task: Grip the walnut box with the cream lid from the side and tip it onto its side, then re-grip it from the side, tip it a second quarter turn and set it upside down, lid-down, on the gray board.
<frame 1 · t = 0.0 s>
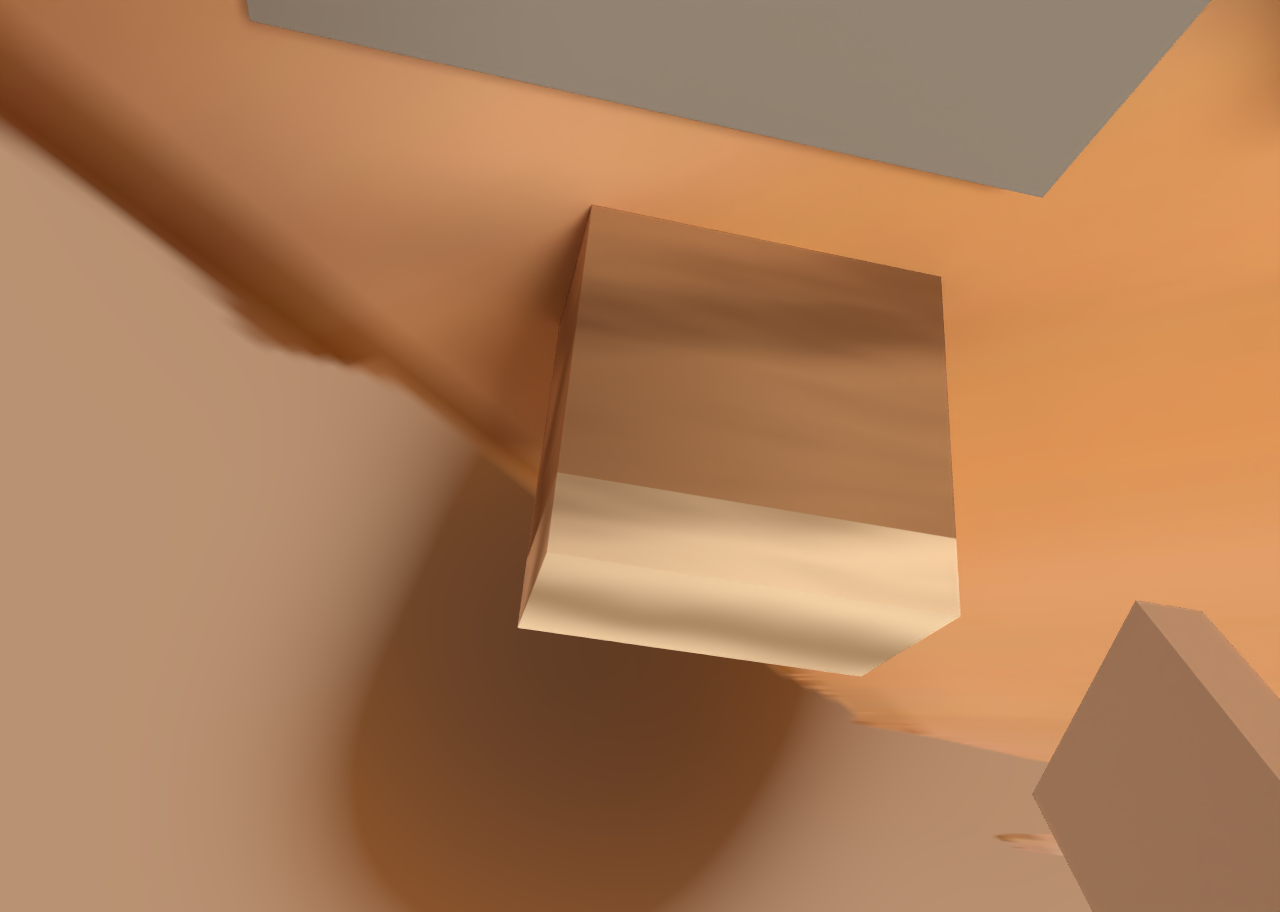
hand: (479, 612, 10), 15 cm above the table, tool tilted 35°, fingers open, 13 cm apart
walnut box: (738, 301, 32), on the table
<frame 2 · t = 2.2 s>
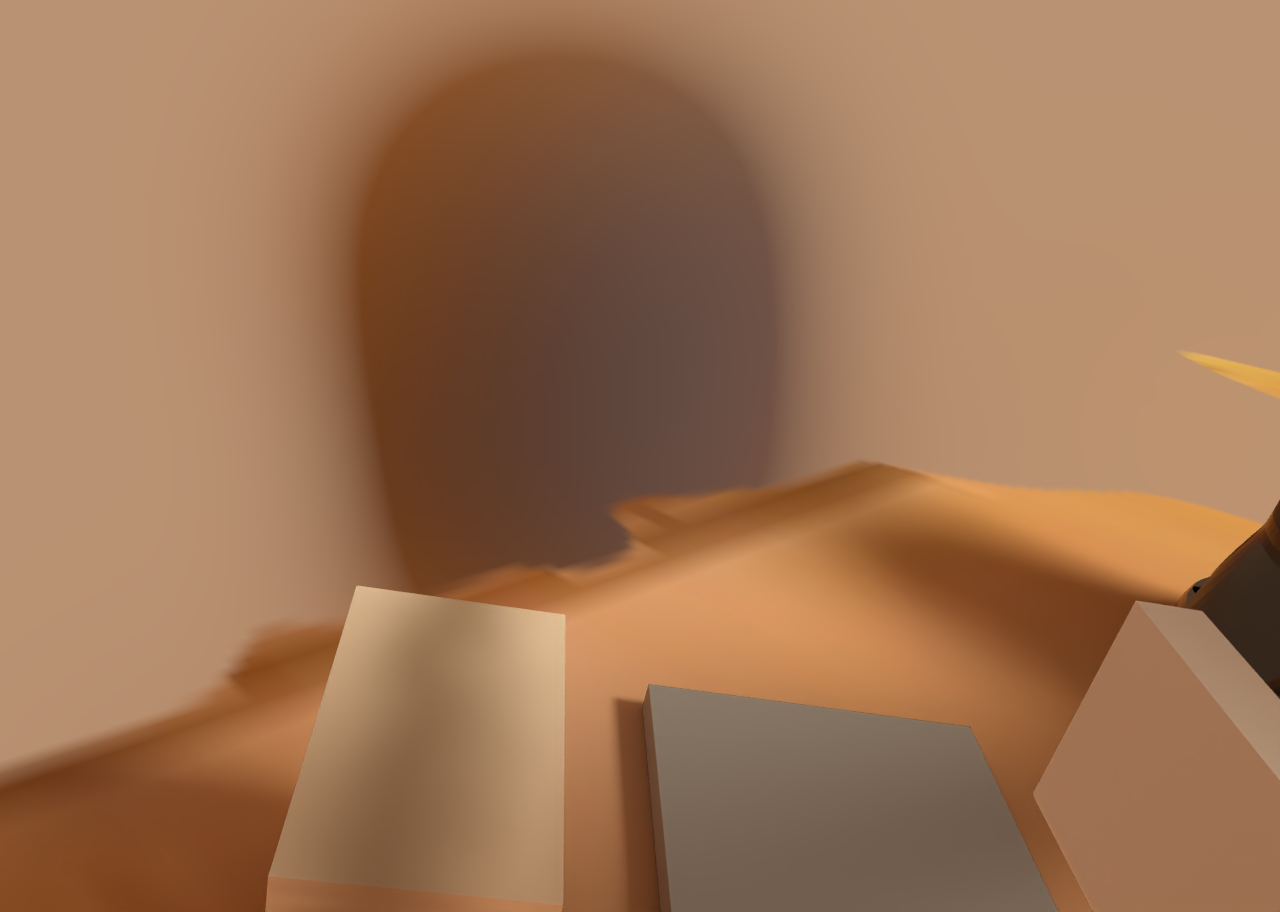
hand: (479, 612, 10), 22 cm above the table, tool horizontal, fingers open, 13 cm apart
gray board: (856, 910, 36), on the table
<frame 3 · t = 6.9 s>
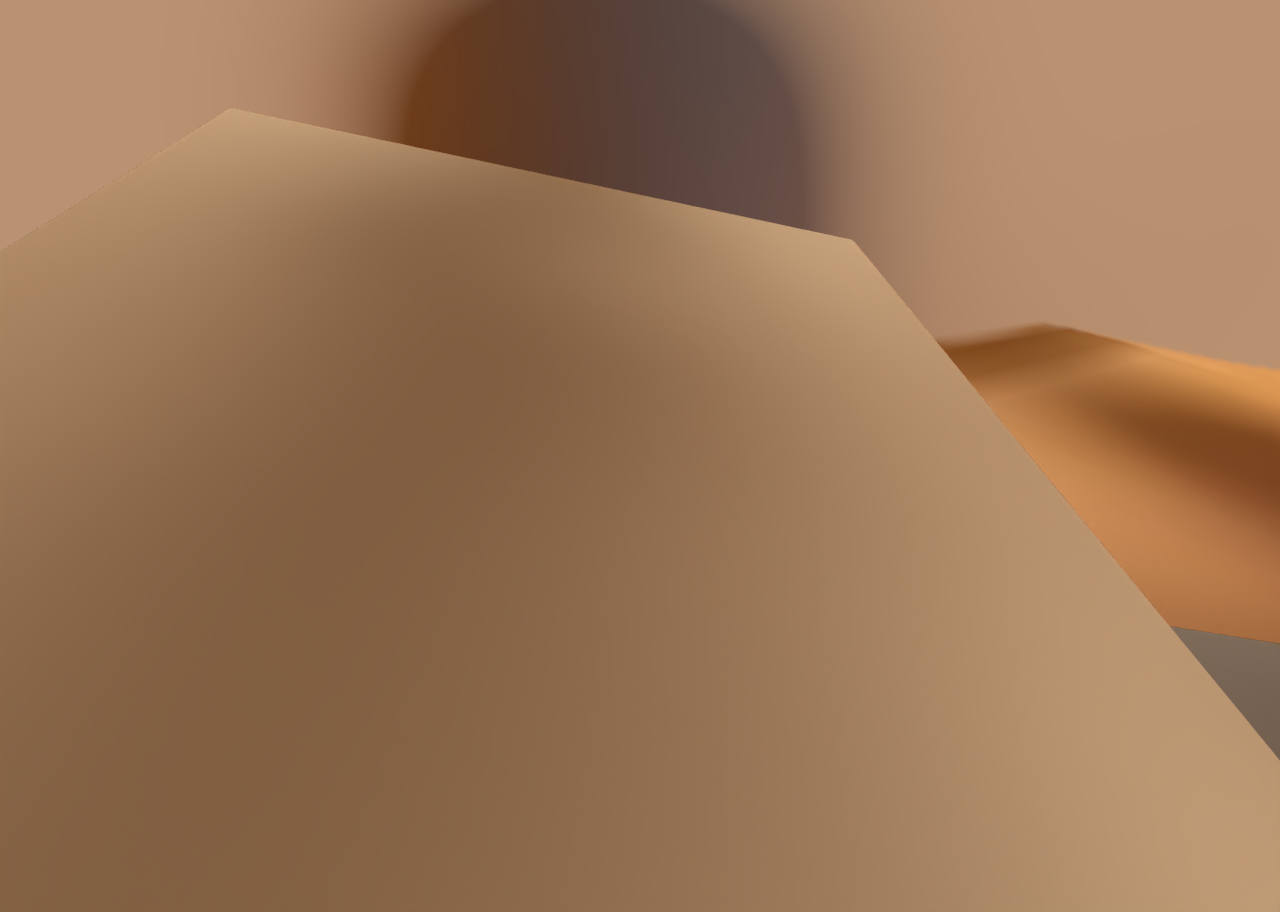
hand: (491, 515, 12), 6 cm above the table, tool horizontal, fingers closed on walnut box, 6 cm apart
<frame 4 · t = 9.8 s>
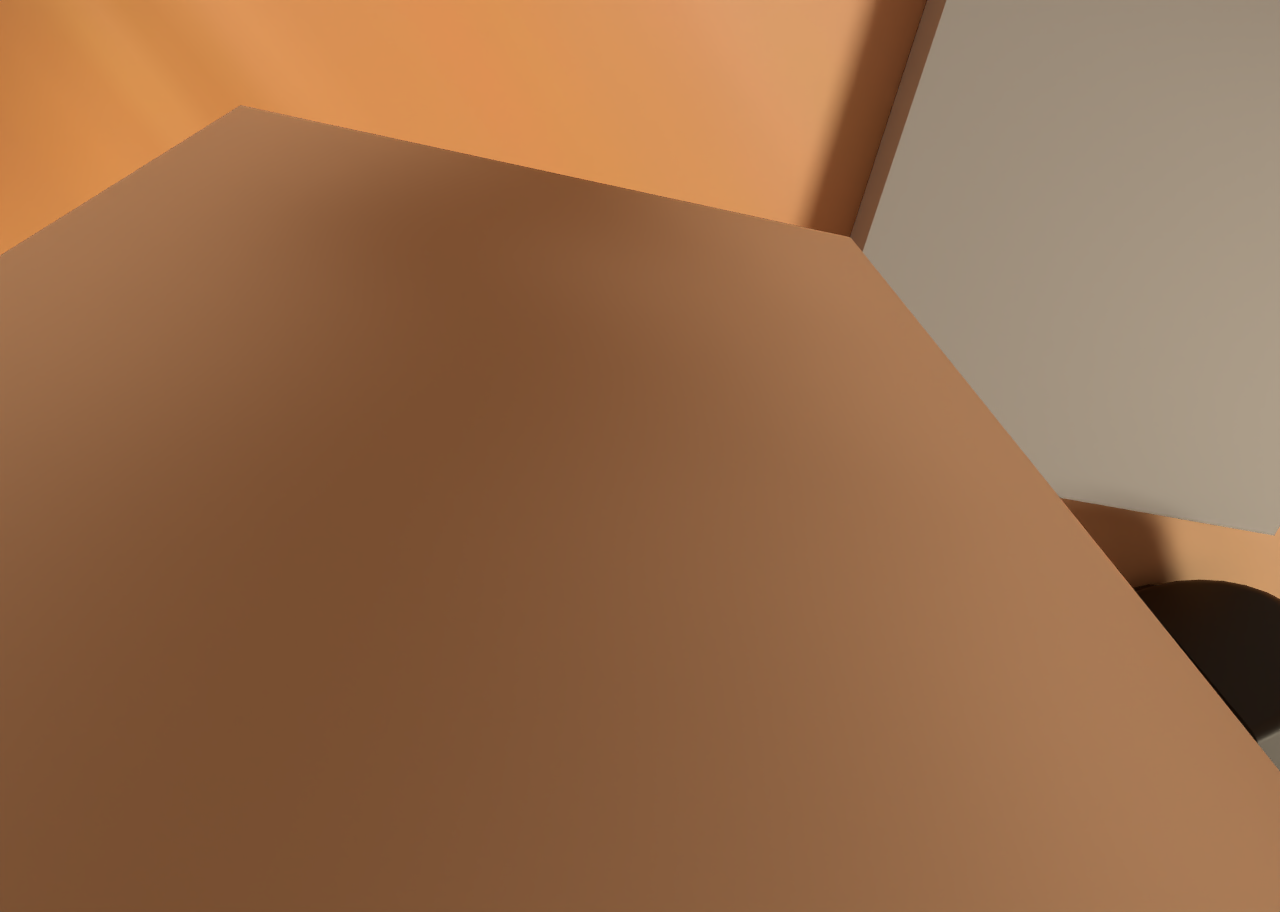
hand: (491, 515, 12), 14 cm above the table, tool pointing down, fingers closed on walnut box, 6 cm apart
gray board: (1173, 148, 25), on the table
end cap: (1137, 692, 34), on the table
when the fingers open (1 cm above the table, at t = 12.4 s): walnut box stays where it is, point 5 cm above the table.
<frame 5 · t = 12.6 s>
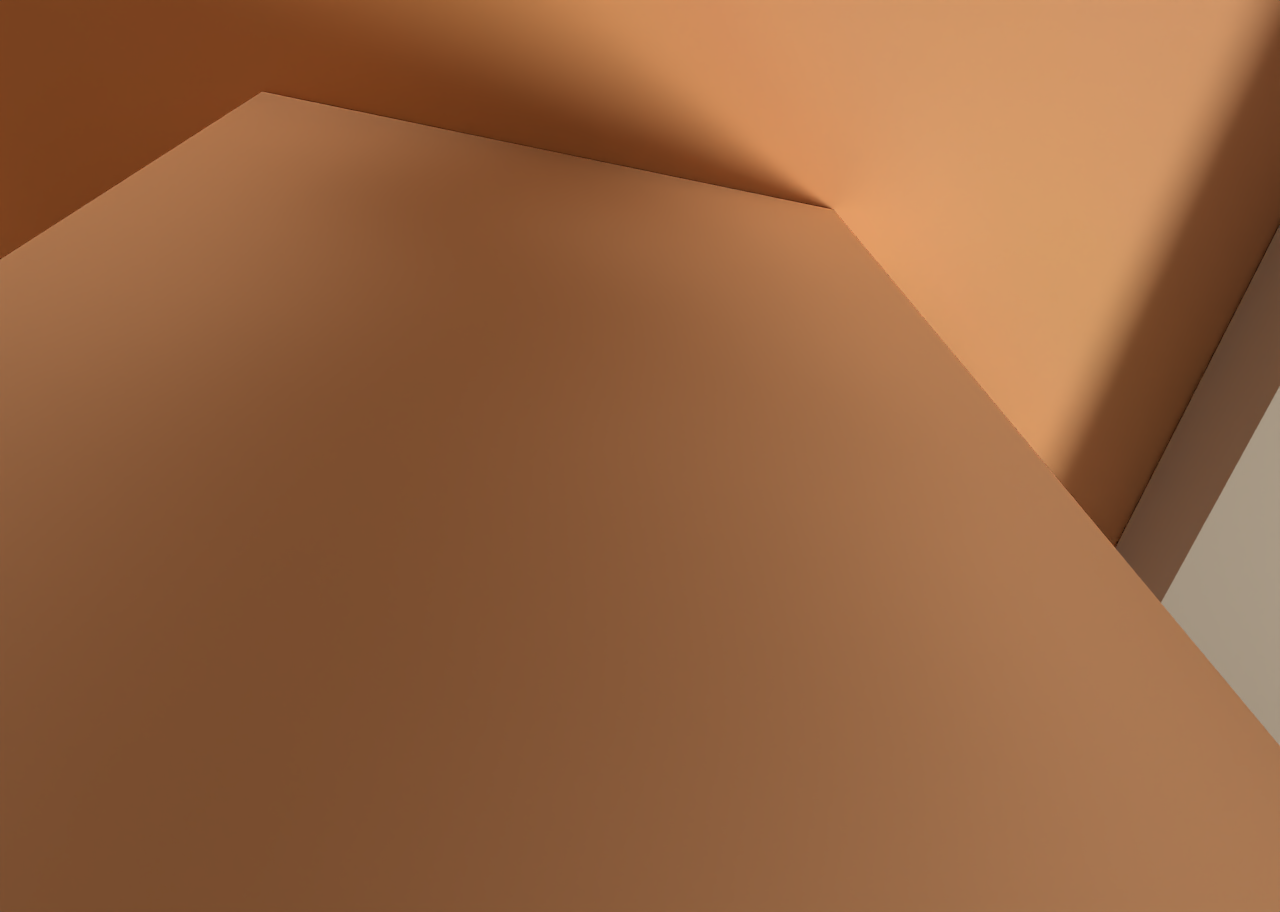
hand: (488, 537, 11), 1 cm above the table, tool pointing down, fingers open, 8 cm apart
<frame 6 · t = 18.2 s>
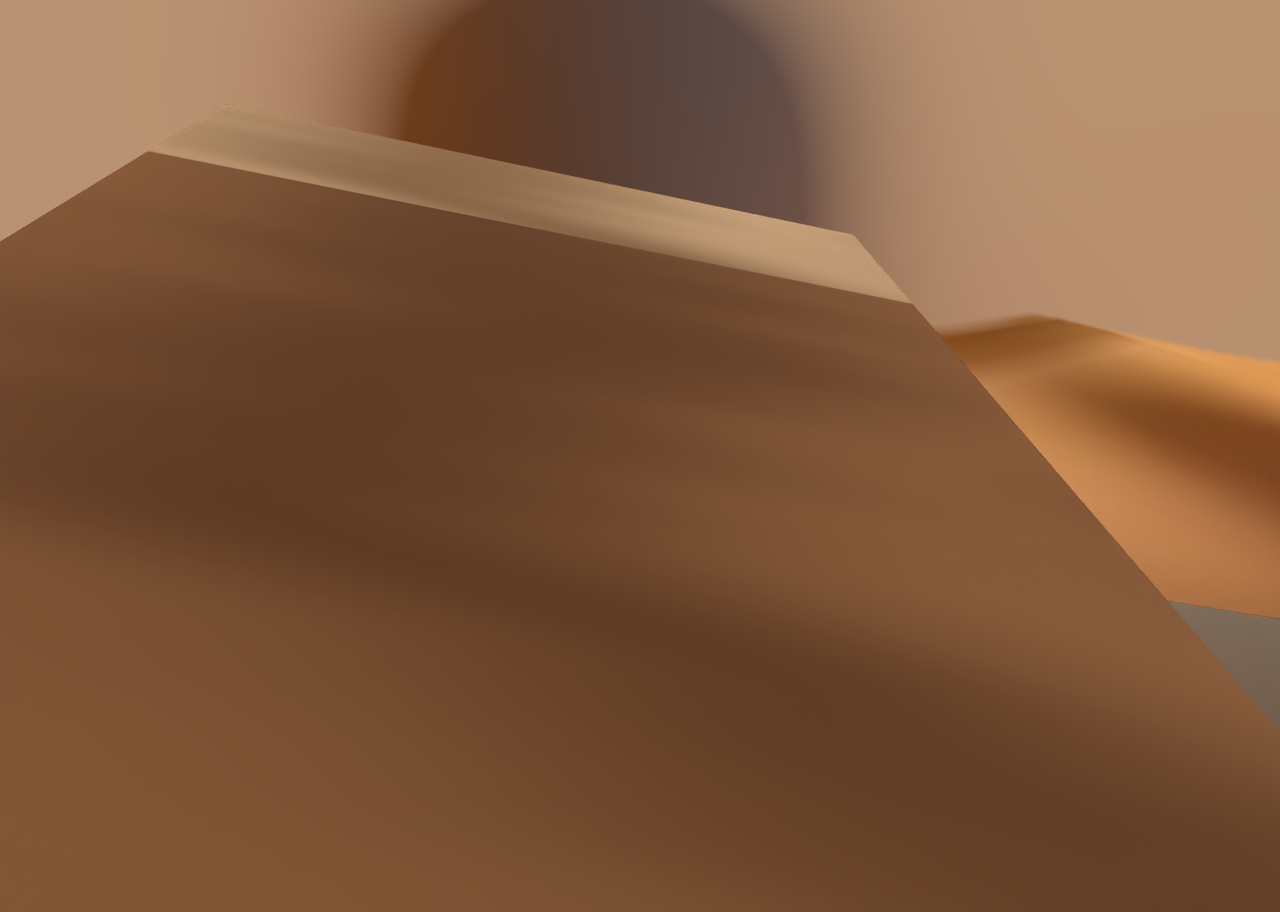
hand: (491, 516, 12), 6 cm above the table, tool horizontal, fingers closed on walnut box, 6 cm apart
when the fingers open (2 cm above the table, at t = 26.0 s): walnut box stays where it is, resting on gray board.
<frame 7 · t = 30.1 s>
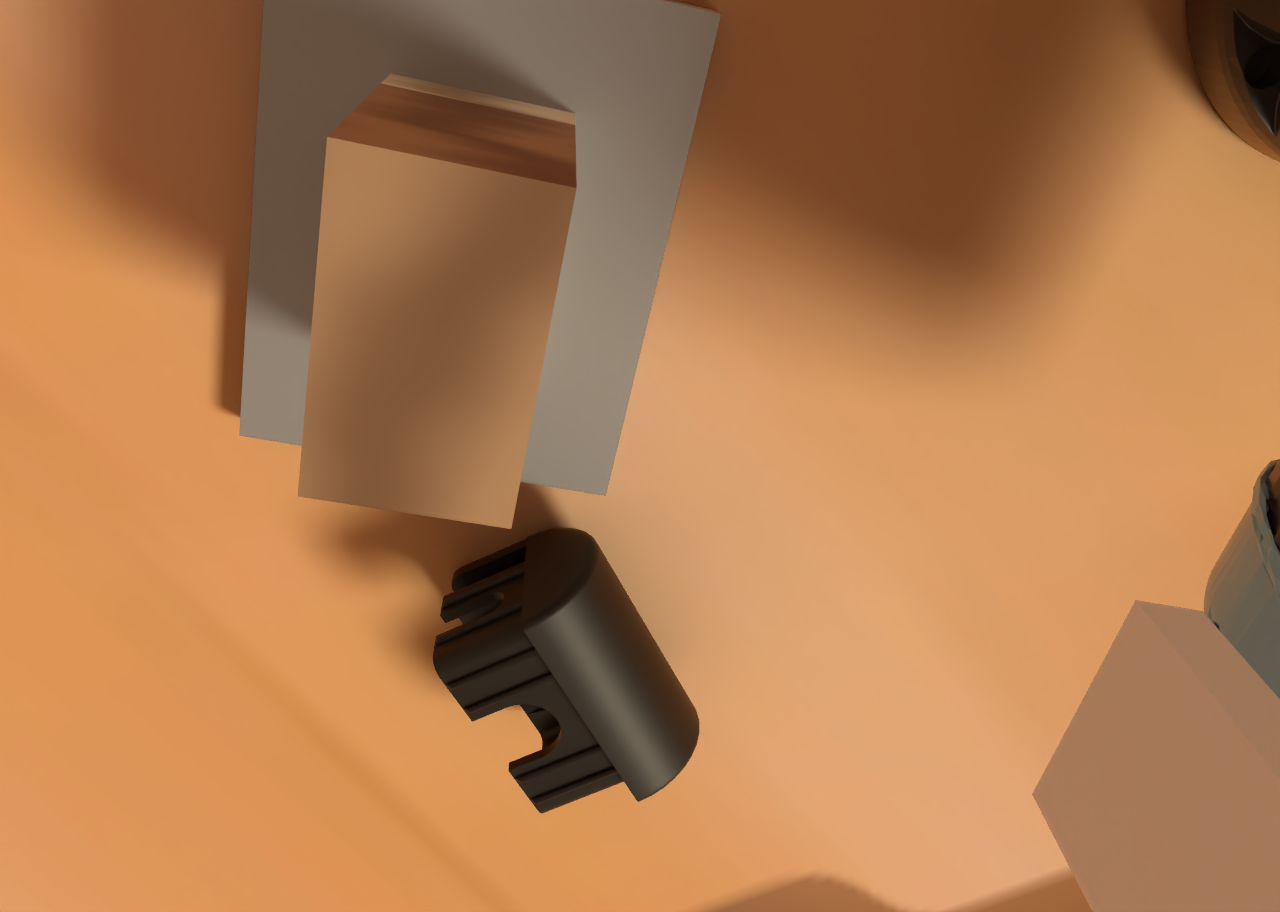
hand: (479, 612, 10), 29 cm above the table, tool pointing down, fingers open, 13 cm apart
gray board: (463, 232, 37), on the table
end cap: (571, 614, 46), on the table
walnut box: (428, 352, 28), point 11 cm above the table, tilted 180°, touching gray board
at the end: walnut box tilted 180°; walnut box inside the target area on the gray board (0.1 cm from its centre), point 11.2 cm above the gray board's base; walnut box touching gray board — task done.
